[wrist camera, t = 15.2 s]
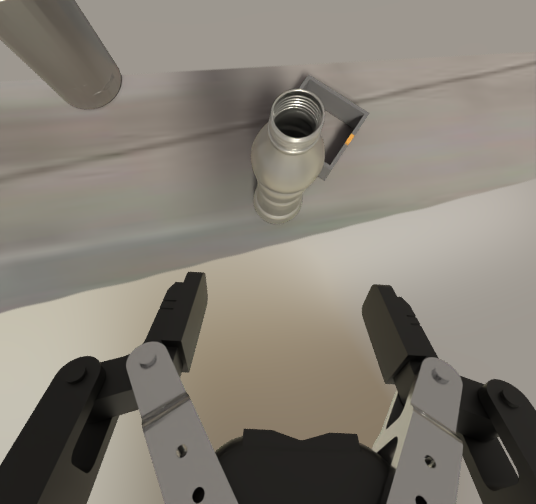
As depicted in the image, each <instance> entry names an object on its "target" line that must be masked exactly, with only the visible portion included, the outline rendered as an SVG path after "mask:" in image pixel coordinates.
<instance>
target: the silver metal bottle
mask: <svg viewBox="0 0 536 504" xmlns="http://www.w3.org/2000/svg"><path fill="white" fill-rule="evenodd" d="M324 119H325V110H324V106H323V104H322V102H321V100H320V99H319V98H318V97H317V96H316V95H315V94H314V93H312V92H310V91H308V90H305V89H291V90H288V91H285V92H284V93H282V94H281V95H279V96H278V97H277V98H276V100H275V101H274V103H273V105H272V108H271V112H270V118H269V121H268V123H267V124H266V125H265V126H264V127H263V128H262V129H261V130H260V131H259V133H258V134H257V136H256V138H255V140H254V142H253V145H252V149H251V164H252V168H253V172H254V174H255V176H256V179H257V183H258V185H257V188H256V190H255V193H254V198H253V203H254V207H255V210H256V212H257V213H258V215H259V216H260V217H261V218H262V219H263V220H264V221H266V222H268V223H271V224H282V223H285V222H288V221H290V220H291V219H293V218H294V217H295V216H296V215H297V213H298V212H299V210H300V208H301V205H302V199H303V192H304V191H305V189H307V188H308V187H309V186H310V185H311V184H312V183H313V182H314V181H315V179H316V178H317V177H318V175H319V174H320V172H321V170H322V167H323V165H324V160H325V148H324V142H323V139H322V136H321V130H322V126H323V124H324Z"/></svg>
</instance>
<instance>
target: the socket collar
mask: <svg viewBox="0 0 536 504" xmlns="http://www.w3.org/2000/svg"><path fill="white" fill-rule="evenodd" d="M299 89H305V90H308V91H310V92H312V93H314V94H315V95H316V96H317V97H318V98H319V99H320V100H321V102H322V104H323V106H324V110H326V111H327V112H329V113H330V114H332V115H333V116H335V117H336V118H338V119H340V120H341V121H343V122H344V123H346V124H347V125H349V126H350V127H352V128H354V130H353V132H352V133H351V135H350V136H349V138H348V139H347V141H346V142H345V144H344V145H343V147H342V148H341V150H340V151H339V153H338V154H337V156H336V157H335V159H334V160H333V162H332V163H331V165H329V164H327V163H326V162H324V165H323V167H322V170H321V172H320V174H319V175H318V177H319V178H321V179H323V180H325V179H326V178H327V176H328V175H329V173H330V172H331V170H332V169H333V167H334V166H335V164H336V163H337V161H338V160H339V158H340V157H341V155H342V154H343V152H344V151H345V149H346V148H347V146H348V145H349V143H350V142H351V140H352V139H353V137H354V136H355V134H356V133H357V131H358V130H359V128H360V127H361V125H362V124H363V122H364V121H365V119H366V118H367V116H368V115H369V113H368V112H367V111H365V110H364V109H362V108H360V107H359V106H357V105H356V104H354V103H353V102H351V101H349V100H348V99H346V98H345V97H343V96H342V95H340V94H339V93H337V92H335V91H334V90H332V89H331V88H329V87H328V86H326V85H324V84H323V83H321V82H320V81H318V80H317V79H315V78H313V77H312V76H310V75H308V76H307V78H306V79H305V80H304V82H303V83H302V84H301V86H300V87H299Z"/></svg>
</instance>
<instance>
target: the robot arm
mask: <svg viewBox="0 0 536 504" xmlns="http://www.w3.org/2000/svg"><path fill="white" fill-rule="evenodd" d="M0 40H1V41H2V42H3V43H4V44H5V45H6V46H7V47H8V48H10V49H11V50H12V51H13V52H14V53H15V54H16V55H17V56H18V57H19V58H20V59H21V60H22V61H23V62H24V63H26V64H27V65H28V66H29V67H30V68H31V69H32V70H33V71H34V72H35V73H36V74H37V75H38V76H40V78H41V79H42V80H43V81H45V82H46V83H47V84H48V85H49V86H50V87H51V88H52V89H53V90H54V91H55V92H56V93H57V94H58V95H59V96H61V97H62V98H63V99H64V100H65V101H66V102H67V103H69V104H70V105H72V106H74V107H77V108H81V109H95V108H99V107H101V106H104V105H106V104H107V103H109V102H110V101H111V100H112V99H113V98H114V97H115V96H116V94H117V93H118V91H119V88H120V85H121V74H120V71H119V68H118V67H117V65H116V64H115V62H114V60H113V59H112V57H111V56H110V54H109V53H108V51H107V50H106V48H105V46H104V45H103V44H102V42H101V40H100V39H99V37H98V35H97V34H96V32H95V31H94V29H93V28H92V26H91V25H90V23H89V22H88V20H87V19H86V17H85V16H84V14H83V12H82V11H81V9H80V8H79V6H78V5H77V3H76V2H75V0H0ZM207 297H208V294H207V285H206V277H205V273H201V272H188V273H187V275H186V278H185V280H184V283H182V282H175V284H173V285H172V286H171V287H170V288H169V289H168V290H167V293H166V295H165V297H164V299H163V302H162V304H161V306H160V309H159V310H158V313H157V315H156V317H155V319H154V322H153V324H152V326H151V328H150V331H149V333H148V335H147V338H146V339H145V341H144V343H143V344H142V345H140V346H138V347H137V348H135V349H134V350H133V351H132V353H131V354H129V355H126V356H124V357H120V358H116V359H112V360H108V361H104V362H99V360H97V359H96V358H94V357H91V356H84V357H79V358H77V359H74V360H72V361H70V362H69V363H67V364H66V365H65V366H63V367H62V368H61V369H60V370H59V371H58V373H57V374H56V375H55V377H54V379H53V380H52V382H51V383H50V385H49V387H48V389H47V390H46V392H45V393H44V395H43V397H42V398H41V400H40V401H39V403H38V405H37V406H36V408H35V410H34V411H33V413H32V415H31V416H30V418H29V419H28V421H27V423H26V424H25V426H24V428H23V429H22V431H21V432H20V434H19V436H18V438H17V439H16V441H15V442H14V444H13V446H12V448H11V449H10V451H9V452H8V454H7V455H6V457H5V459H4V460H3V462H2V464H1V465H0V504H86V503H87V501H88V498H89V496H90V493H91V490H92V488H93V485H94V482H95V479H96V477H97V474H98V471H99V469H100V466H101V463H102V460H103V458H104V455H105V452H106V449H107V447H108V444H109V442H110V439H111V436H112V433H113V431H114V428H115V425H116V423H117V420H118V417H119V415H122V414H125V413H128V412H132V411H135V410H138V409H139V411H140V414H141V418H142V428H143V432H144V436H145V439H146V443H147V446H148V449H149V453H150V456H151V459H152V463H153V466H154V469H155V472H156V476H157V479H158V482H159V486H160V489H161V493H162V496H163V499H164V502H165V504H456V500H457V492H458V484H459V477H460V468H461V461H462V456H463V458H464V460H465V463H466V465H467V467H468V470H469V472H470V475H471V477H472V479H473V481H474V484H475V486H476V489H477V491H478V494H479V496H480V498H481V501H482V503H483V504H536V410H535V409H534V407H533V406H532V405H531V403H530V402H529V400H528V399H527V398H526V397H525V395H524V394H523V393H522V392H521V391H519V390H518V389H517V388H515V387H514V386H512V385H511V384H509V383H507V382H505V381H502V380H497V379H493V380H490V381H488V382H487V383H486V384H482V383H479V382H476V381H473V380H470V379H467V378H465V377H462V376H460V375H459V374H458V373H457V371H456V370H455V369H454V368H453V367H452V366H451V365H449V364H448V363H447V362H445V361H443V360H441V359H439V358H438V357H437V355H436V353H435V351H434V349H433V347H432V346H431V344H430V342H429V340H428V338H427V336H426V335H425V333H424V331H423V329H422V327H421V326H420V323H419V321H418V320H417V318H415V314H414V312H413V311H412V308H411V307H410V305H409V304H408V303H407V302H406V301H405V300H404V299H403V298H402V297H397V296H396V294H395V292H394V290H393V288H392V287H391V286H390V285H372V287H371V289H370V291H369V293H368V295H367V297H366V300H365V301H364V304H363V307H362V316H363V319H364V322H365V325H366V328H367V331H368V334H369V337H370V340H371V343H372V346H373V349H374V352H375V355H376V358H377V361H378V364H379V367H380V370H381V373H382V376H383V379H384V382H385V384H395V385H396V388H397V391H396V393H395V395H394V397H393V400H392V403H391V406H390V409H389V411H388V414H387V417H386V420H385V422H384V425H383V428H382V431H381V433H380V435H379V437H378V438H377V440H376V441H375V443H374V445H373V447H372V449H370V448H369V447H367V446H365V445H363V444H361V443H359V441H358V436H357V434H344V433H327V434H324V435H320V436H317V437H313V438H310V439H306V440H298V439H295V438H292V437H289V436H286V435H284V434H281V433H278V432H276V431H273V430H257V429H244V432H243V436H242V437H238V438H235V439H233V440H231V441H229V442H227V443H226V444H224V445H223V446H221V447H220V448H219V449H218V450H217V451H216V452H214V449H213V448H212V445H211V443H210V441H209V438H208V436H207V434H206V432H205V430H204V427H203V425H202V423H201V421H200V419H199V416H198V415H197V412H196V410H195V408H194V405H193V403H192V401H191V399H190V397H189V395H188V394H187V393H186V391H185V388H184V386H183V384H182V382H181V380H180V376H181V373H182V372H189V371H190V367H191V363H192V359H193V356H194V352H195V348H196V345H197V341H198V337H199V333H200V329H201V325H202V322H203V318H204V314H205V310H206V306H207V299H208V298H207ZM497 437H500V439H501V440H502V442H503V444H504V446H505V448H506V450H507V452H508V453H509V455H510V457H511V459H512V460H513V463H514V465H515V466H516V468H517V471H518V474H519V478H518V476H517V474H516V472H515V470H514V468H513V466H512V465H511V463H510V461H509V459H508V457H507V455H506V453H505V451H504V449H503V448H502V446H501V444H500V442H499V440H498V438H497Z"/></svg>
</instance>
